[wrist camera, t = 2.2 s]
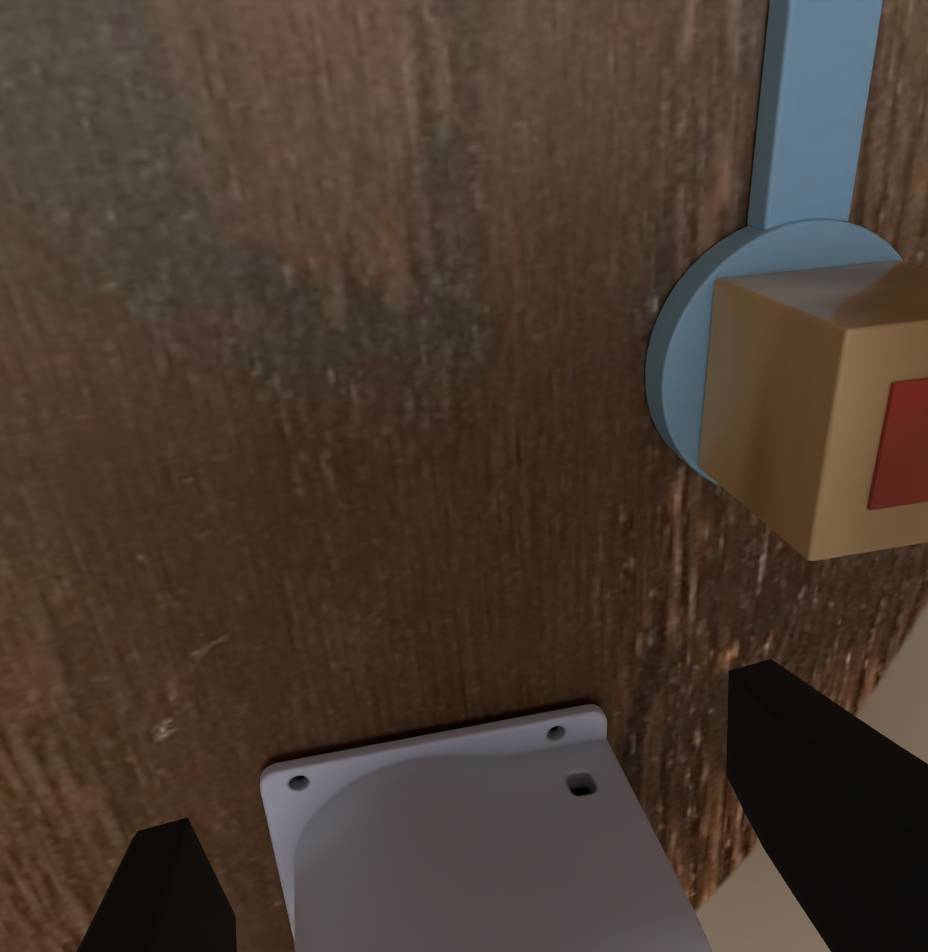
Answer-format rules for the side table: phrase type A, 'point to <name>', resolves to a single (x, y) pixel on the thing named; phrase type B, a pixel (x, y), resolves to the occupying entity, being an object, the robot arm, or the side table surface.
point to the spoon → (778, 195)
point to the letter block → (822, 404)
